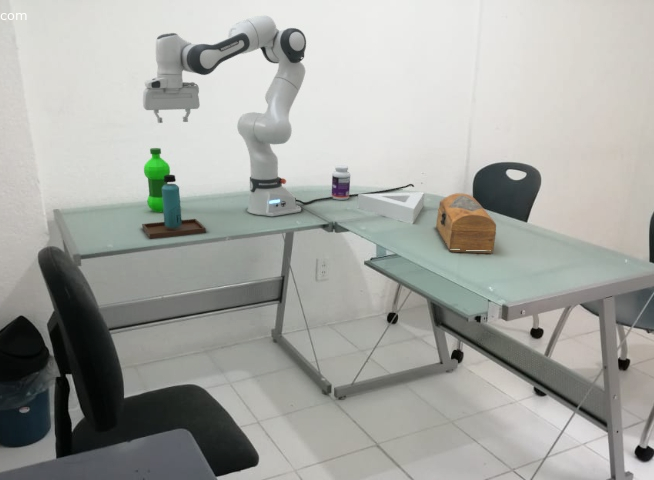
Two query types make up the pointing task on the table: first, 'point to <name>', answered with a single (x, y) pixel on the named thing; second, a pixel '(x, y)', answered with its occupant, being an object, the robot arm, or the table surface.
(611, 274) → the table surface
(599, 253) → the table surface
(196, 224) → the tray
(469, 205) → the wooden box
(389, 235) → the table surface
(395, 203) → the triangle block
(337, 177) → the pill bottle
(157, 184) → the plastic bottle
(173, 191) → the beverage bottle
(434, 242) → the table surface
